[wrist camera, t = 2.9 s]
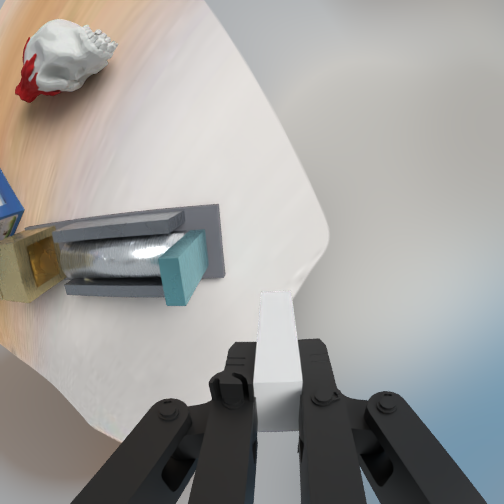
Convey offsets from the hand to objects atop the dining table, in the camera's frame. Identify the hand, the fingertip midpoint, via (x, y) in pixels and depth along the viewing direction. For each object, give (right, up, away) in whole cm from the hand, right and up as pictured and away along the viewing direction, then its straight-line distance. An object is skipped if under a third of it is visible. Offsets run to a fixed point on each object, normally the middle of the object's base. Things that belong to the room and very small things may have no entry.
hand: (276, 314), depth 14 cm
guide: (-20, +4, +15) cm, 26 cm away
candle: (-24, +27, +9) cm, 37 cm away
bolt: (-13, +3, +13) cm, 19 cm away
